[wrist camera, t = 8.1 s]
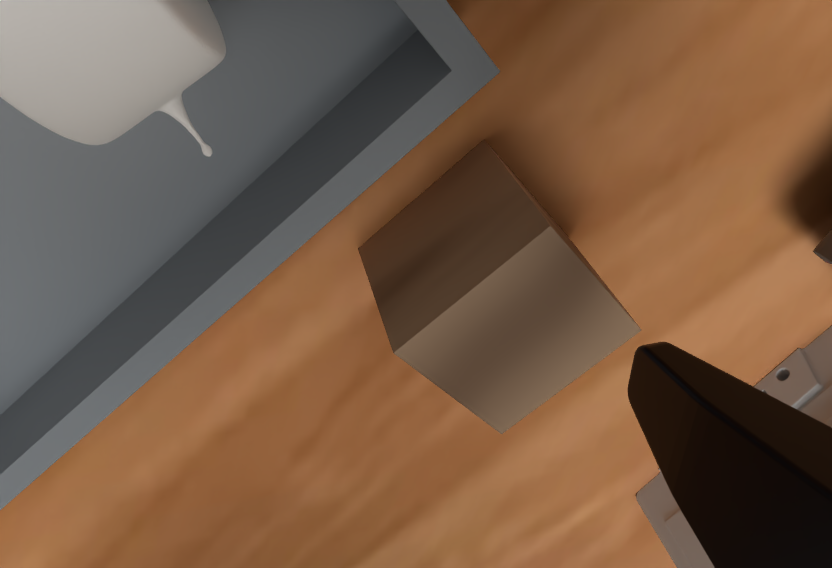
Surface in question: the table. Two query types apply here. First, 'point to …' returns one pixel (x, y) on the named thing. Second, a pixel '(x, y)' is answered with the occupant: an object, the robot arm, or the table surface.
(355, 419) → the table surface
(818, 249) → the bluetooth speaker
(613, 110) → the table surface
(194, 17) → the elephant figurine
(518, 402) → the walnut cube
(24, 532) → the table surface
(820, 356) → the cassette
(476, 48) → the tote
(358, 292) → the table surface
